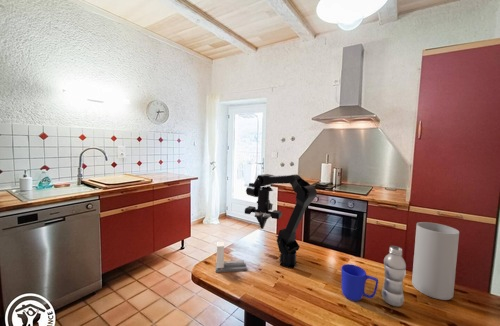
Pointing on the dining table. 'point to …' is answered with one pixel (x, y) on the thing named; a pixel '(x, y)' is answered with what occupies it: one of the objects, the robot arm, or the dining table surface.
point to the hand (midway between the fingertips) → (262, 228)
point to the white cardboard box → (220, 254)
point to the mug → (355, 282)
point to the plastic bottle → (394, 277)
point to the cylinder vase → (435, 260)
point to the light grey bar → (233, 263)
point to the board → (231, 268)
